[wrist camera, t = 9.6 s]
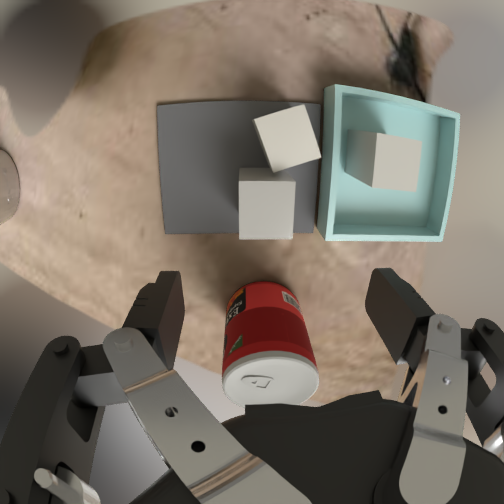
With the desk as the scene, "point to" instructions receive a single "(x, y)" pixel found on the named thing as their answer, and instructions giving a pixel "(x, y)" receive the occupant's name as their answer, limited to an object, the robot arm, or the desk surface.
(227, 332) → the canned food
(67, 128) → the desk surface
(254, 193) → the stone
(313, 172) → the mat
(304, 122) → the stone
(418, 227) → the bin
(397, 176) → the stone
